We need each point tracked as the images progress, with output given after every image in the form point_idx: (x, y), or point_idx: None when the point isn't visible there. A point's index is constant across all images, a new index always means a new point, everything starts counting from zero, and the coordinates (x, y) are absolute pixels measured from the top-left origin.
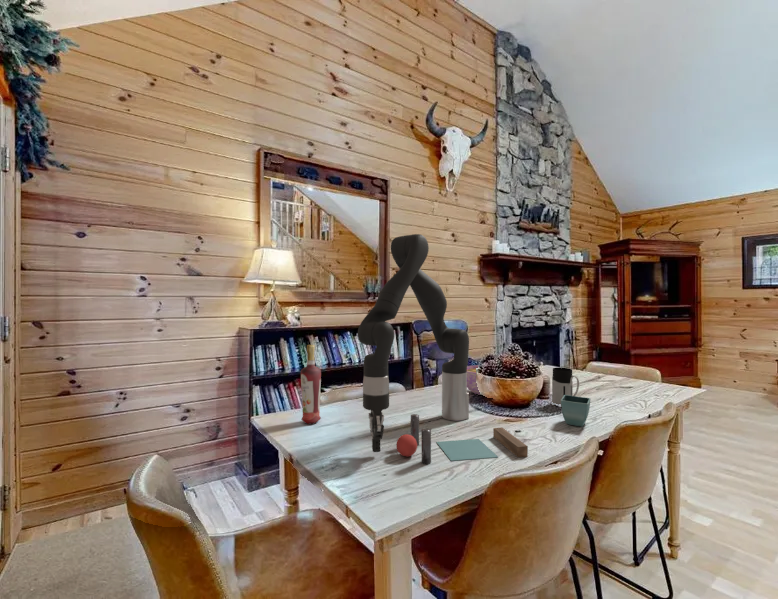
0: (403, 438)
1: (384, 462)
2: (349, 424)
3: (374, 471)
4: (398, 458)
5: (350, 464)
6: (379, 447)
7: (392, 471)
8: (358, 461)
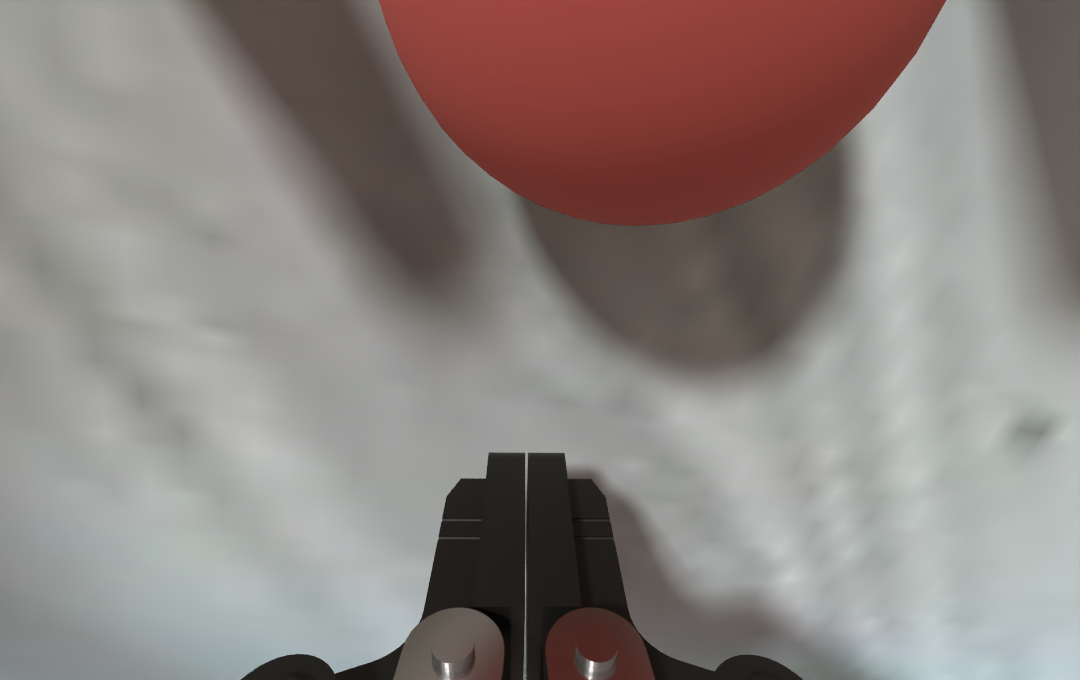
0: (837, 58)
1: (730, 382)
2: None
3: (904, 509)
4: None
5: None
6: (565, 496)
7: (1009, 337)
8: None
